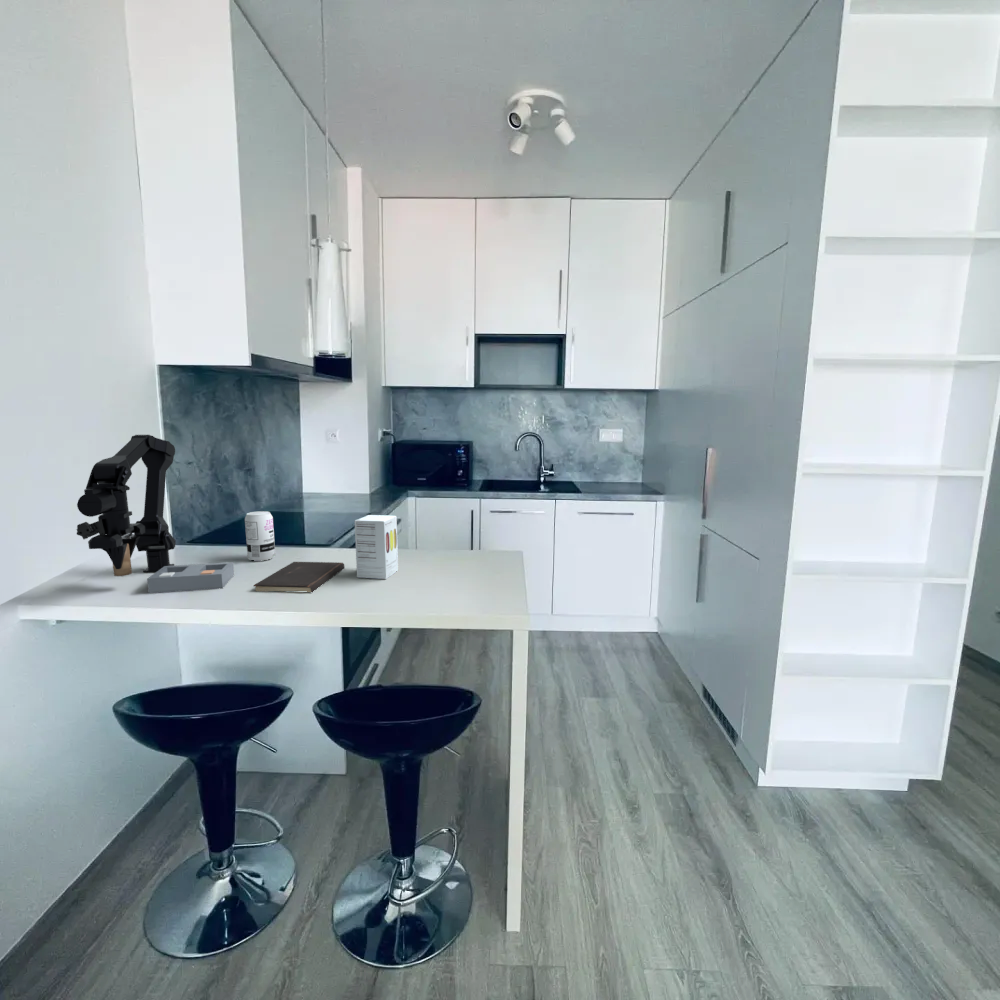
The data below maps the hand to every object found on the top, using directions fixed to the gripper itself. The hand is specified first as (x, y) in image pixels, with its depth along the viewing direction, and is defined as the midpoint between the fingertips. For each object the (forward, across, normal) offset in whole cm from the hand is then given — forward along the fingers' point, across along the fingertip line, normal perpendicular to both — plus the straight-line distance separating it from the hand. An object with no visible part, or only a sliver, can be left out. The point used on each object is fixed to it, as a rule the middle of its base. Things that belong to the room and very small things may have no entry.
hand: (122, 566), depth 147 cm
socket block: (+6, 0, +17) cm, 18 cm away
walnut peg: (+2, 0, 0) cm, 2 cm away
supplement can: (+6, -24, +30) cm, 39 cm away
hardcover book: (+7, +2, +46) cm, 46 cm away
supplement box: (+6, +2, +67) cm, 67 cm away
